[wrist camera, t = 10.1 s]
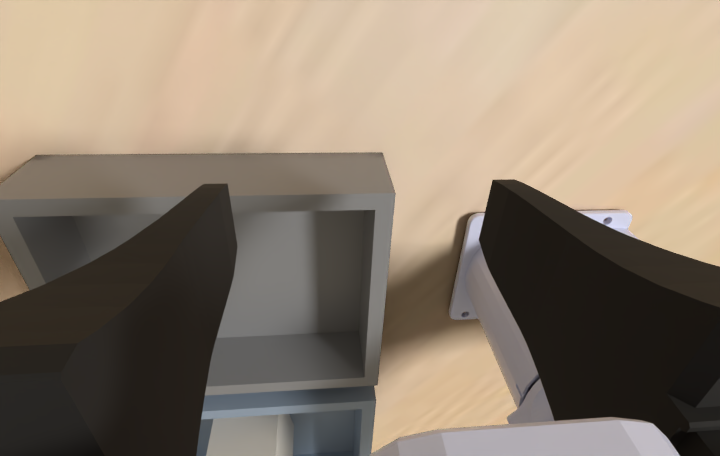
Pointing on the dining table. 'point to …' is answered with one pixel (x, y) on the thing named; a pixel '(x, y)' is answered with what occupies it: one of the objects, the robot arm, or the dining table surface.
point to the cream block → (252, 436)
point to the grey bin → (254, 252)
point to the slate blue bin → (304, 417)
